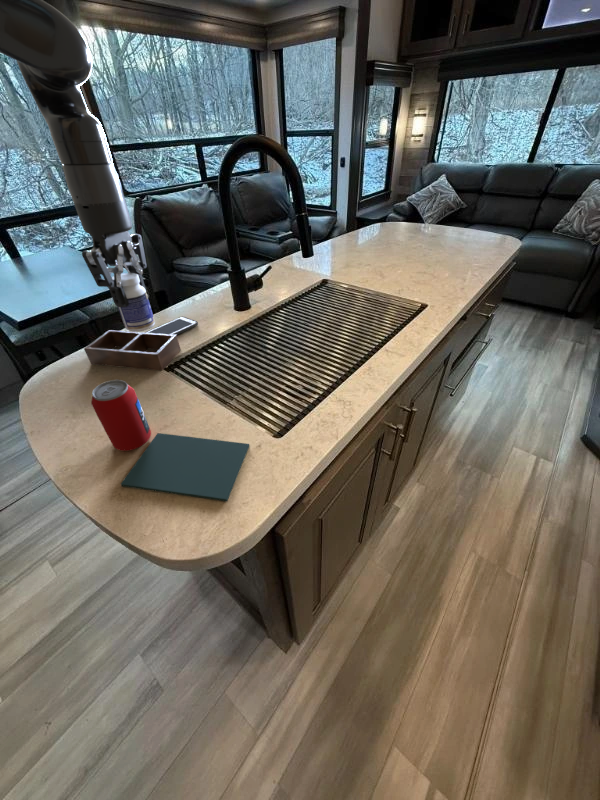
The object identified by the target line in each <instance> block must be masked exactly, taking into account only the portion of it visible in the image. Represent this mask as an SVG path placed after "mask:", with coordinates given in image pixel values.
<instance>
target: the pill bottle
mask: <svg viewBox="0 0 600 800" xmlns="http://www.w3.org/2000/svg"><path fill="white" fill-rule="evenodd" d="M111 277H112V279H113V280H114V275H112V276H111ZM139 283H140V279H139V276H138V274H135V273H128V272H126V273H122V274H121V286H123V288H124V291H125V294H126V297H127V300H128V303H129V305H128V306H127V307H117V309H118V311H119V314H120V317H121V321H122V323H123V326H124V328H125V329H126V331H130V332H144V331H148V330H151V329H152V328H153V327H154V326H155V324H156V320H155V317H154V314H153V310H152V307H151V304H150V300H149V297H148V294H147V290H145V289H146V287H145V288H144V287H143V286H141V285H140V284H139Z"/></svg>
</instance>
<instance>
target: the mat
mask: <svg viewBox="0 0 600 800" xmlns="http://www.w3.org/2000/svg"><path fill="white" fill-rule="evenodd" d="M249 448H250V443H246V442H237V441H228V440H219V439H212V438H211V439H210V438H203V437H194V436H187V435H179V434H178V435H177V434H169V433H163V432H161V433H160V432H157V433H156V434H155V436H154V437H153V439H152V440H151V441H150V442H149V444H148V445H147V447H146V448H145V450H144V451H143V452H142V453H141V455H140V457H139V458H138V459H137V461H136V462H135V463H134V465H133V466H132V468H131V469H130V471H129V472H128V473H127V474H126V476H125V477H124V478H123V480H122V481H121V482H120V486H121V487H124V488H130V489H137V490H144V491H150V492H158V493H165V494H171V495H179V496H185V497H190V498H191V497H192V498H198V499H199V498H200V499H205V500H214V501H220V502H227V503H228V500H229V498H230V495H231V493H232V491H233V488H234V486H235V483H236V481H237V478H238V476H239V473H240V471H241V468H242V465H243V463H244V460H245V459H246V456H247V453H248V450H249Z"/></svg>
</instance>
